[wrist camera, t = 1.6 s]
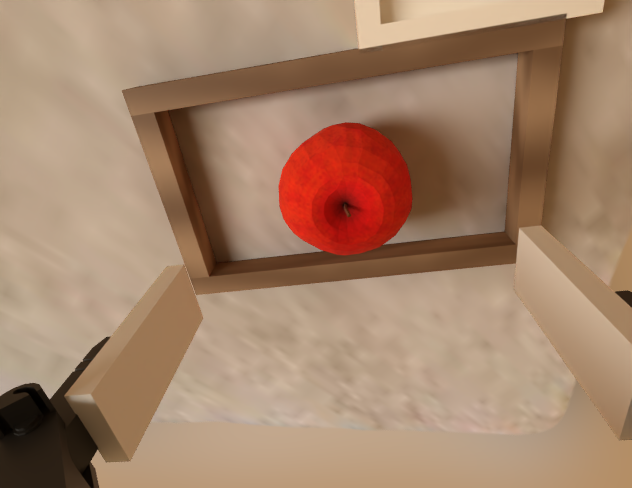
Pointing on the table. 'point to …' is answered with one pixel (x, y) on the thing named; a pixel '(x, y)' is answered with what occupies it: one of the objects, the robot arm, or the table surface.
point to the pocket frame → (530, 94)
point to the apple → (345, 190)
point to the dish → (453, 17)
